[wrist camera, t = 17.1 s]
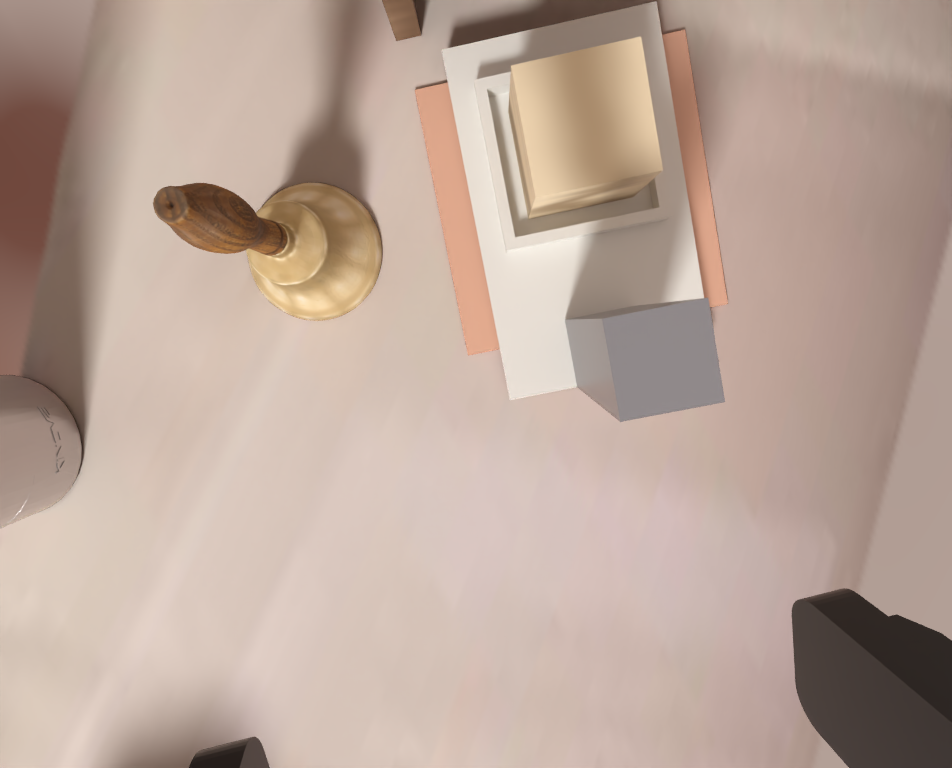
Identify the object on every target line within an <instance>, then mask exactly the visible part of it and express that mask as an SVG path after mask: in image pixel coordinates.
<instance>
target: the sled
mask: <svg viewBox="0 0 952 768" xmlns="http://www.w3.org/2000/svg"><path fill="white" fill-rule="evenodd" d="M636 37H641V38H642V44H643V50H644V57H645V63H646V69H647V75H648V81H649V87H650V93H651V99H652V105H653V112H654V118H655V124H656V130H657V136H658V142H659V148H660V154H661V161H662V167H663V171H662V172H661V173H659V174H658V175H657V176H656V177H655V178H654V179H653V180H652V181H651V182H649V183H648V184H647V185H646V186H645V187H644V188H643V189H642V190H641V191H639V192H638V193H637V194H636V195H635V196H634V197H632V198H627V199H622V200H617V201H613V202H608V203H603V204H598V205H594V206H589V207H584V208H579V209H575V210H570V211H565V212H560V213H555V214H551V215H546V216H541V217H536V218H532V219H528V215H527V209H526V204H525V199H524V193H523V188H522V183H521V177H520V172H519V167H518V161H517V156H516V151H515V145H514V140H513V135H512V129H511V124H510V119H509V113H508V107H509V91H510V74H511V65H515V64H520V63H524V62H529V61H533V60H538V59H542V58H547V57H551V56H556V55H560V54H565V53H569V52H574V51H578V50H583V49H587V48H592V47H596V46H600V45H605V44H609V43H614V42H618V41H623V40H627V39H632V38H636ZM442 56H443V61H444V66H445V71H446V76H447V81H448V86H449V91H450V96H451V101H452V107H453V112H454V117H455V122H456V127H457V132H458V137H459V142H460V147H461V153H462V158H463V163H464V168H465V173H466V178H467V183H468V188H469V193H470V199H471V204H472V209H473V214H474V219H475V224H476V229H477V234H478V239H479V245H480V250H481V255H482V260H483V265H484V270H485V275H486V280H487V285H488V291H489V296H490V301H491V306H492V311H493V316H494V321H495V326H496V331H497V337H498V342H499V347H500V352H501V357H502V362H503V367H504V372H505V377H506V382H507V388H508V393H509V398H510V400H513V399H519V398H524V397H529V396H534V395H539V394H544V393H550V392H555V391H560V390H565V389H570V388H575V387H578V388H579V389H580V390H581V391H583V392H584V393H585V394H586V395H588V396H589V397H590V398H591V399H593V400H594V401H595V402H596V403H598V404H599V405H600V406H601V407H603V408H604V409H605V410H606V411H608V412H609V413H610V414H611V415H612V416H614V417H615V418H616V419H617V420H619V421H620V422H622V421H627V420H633V419H638V418H643V417H648V416H654V415H659V414H664V413H669V412H675V411H680V410H685V409H691V408H696V407H701V406H706V405H712V404H717V403H722V402H725V399H724V393H723V386H722V380H721V374H720V368H719V361H718V355H717V349H716V343H715V336H714V330H713V324H712V317H711V311H710V305H709V299H708V298H704V294H703V288H702V282H701V275H700V269H699V263H698V257H697V250H696V244H695V238H694V232H693V225H692V219H691V213H690V207H689V200H688V194H687V188H686V182H685V175H684V169H683V163H682V157H681V150H680V144H679V138H678V132H677V126H676V119H675V113H674V107H673V101H672V94H671V88H670V82H669V76H668V69H667V63H666V57H665V51H664V44H663V38H662V32H661V26H660V19H659V13H658V7H657V1H655V2H650V3H646V4H641V5H637V6H632V7H628V8H624V9H619V10H615V11H610V12H606V13H602V14H597V15H593V16H588V17H584V18H579V19H575V20H571V21H566V22H562V23H557V24H553V25H549V26H544V27H540V28H535V29H531V30H526V31H522V32H518V33H513V34H509V35H504V36H500V37H496V38H491V39H487V40H482V41H478V42H473V43H469V44H465V45H460V46H456V47H451V48H447V49H443V50H442Z"/></svg>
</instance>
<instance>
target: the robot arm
mask: <svg viewBox="0 0 952 768" xmlns="http://www.w3.org/2000/svg"><path fill="white" fill-rule="evenodd" d="M81 450H82V447H81V440H80V434H79V431H78V428H77V425H76V423H75V420H74V418H73V416H72V415H71V413H70V411H69V410H68V408H67V407H66V405H65V404H64V403H63V402H62V401H61V400H60V399H59V398H58V397H57V396H56V395H55V394H54V393H53V392H52V391H50V390H49V389H47V388H46V387H45V386H43V385H42V384H39V383H37V382H35V381H33V380H30V379H28V378H24V377H19V376H15V375H0V528H2V527H5V526H7V525H9V524H12V523H14V522H16V521H19V520H21V519H24V518H26V517H28V516H31V515H33V514H35V513H38V512H40V511H42V510H45V509H47V508H49V507H51V506H52V505H54V504H55V503H57V502H58V501H59V500H61V499H62V498H63V497H64V495H65V494H66V493H67V492H68V491H69V490H70V489H71V487H72V485H73V483H74V481H75V479H76V477H77V475H78V471H79V467H80V464H81ZM792 627H793V645H794V663H795V682H796V689H797V693H798V696H799V700H800V702H801V705H802V707H803V709H804V711H805V713H806V715H807V717H808V719H809V720H810V722H811V724H812V725H813V726H814V728H815V729H816V730H817V732H818V733H819V734H820V735H821V736H822V738H823V739H824V740H825V741H826V742H827V743H828V744H829V745H830V746H831V748H832V749H833V750H834V751H835V752H836V753H837V755H838V756H839V757H840V758H841V759H842V760H843V761H844V763H845V764H846V765H847V766H848V767H849V768H952V641H951V640H950V639H948V638H947V637H946V636H944V635H943V634H941V633H939V632H937V631H935V630H932V629H930V628H927V627H925V626H923V625H920V624H918V623H916V622H913V621H911V620H908V619H906V618H904V617H901V616H899V615H893V616H889V617H888V616H887V615H886V614H884V613H883V612H881V611H880V610H879V609H878V608H876V607H875V606H874V605H872V604H871V603H869V602H868V601H867V600H865V599H864V598H863V597H861V596H860V595H859V594H857V593H856V592H854V591H852V590H850V589H839V590H835V591H831V592H827V593H823V594H819V595H815V596H811V597H808V598H804V599H800V600H797V601H796V602H795V603H794V605H793V607H792ZM189 768H270V767H269V764H268V761H267V758H266V755H265V752H264V749H263V746H262V744H261V742H260V741H259V739H258V738H256V737H251V738H247V739H243V740H239V741H235V742H231V743H227V744H223V745H220V746H216V747H212V748H208V749H204V750H201V751H199V752H198V753H197V754H196V755H195V756H194V758H193V760H192V762H191V764H190V767H189Z"/></svg>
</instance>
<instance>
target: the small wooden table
mask: <svg viewBox="0 0 952 768" xmlns="http://www.w3.org/2000/svg"><path fill="white" fill-rule="evenodd" d="M382 1H383V4H384V7H385V10H386V13H387V16H388V18H389V21H390V24H391V27H392V30H393V33H394V35H395V38H396V41H398V40H403V39H407V38H412V37H416V36H420V35H421V32H420V26H419V21H418V16H417V11H416V6H415V1H414V0H382Z"/></svg>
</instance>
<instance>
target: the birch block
mask: <svg viewBox="0 0 952 768" xmlns="http://www.w3.org/2000/svg"><path fill="white" fill-rule="evenodd" d="M508 113H509V119H510V124H511V129H512V135H513V140H514V145H515V151H516V156H517V161H518V167H519V172H520V177H521V183H522V188H523V193H524V199H525V204H526V209H527V215H528V219H532V218H536V217H541V216H546V215H551V214H555V213H560V212H565V211H570V210H575V209H579V208H584V207H589V206H594V205H598V204H603V203H608V202H613V201H617V200H622V199H627V198H632V197H634V196H635V195H636V194H637V193H638V192H639V191H641V190H642V189H643V188H644V187H645V186H646V185H647V184H648V183H649V182H651V181H652V180H653V179H654V178H655V177H656V176H657V175H658V174H659V173H661V172H662V171H663V167H662V161H661V154H660V148H659V142H658V136H657V130H656V124H655V118H654V112H653V105H652V99H651V93H650V87H649V81H648V75H647V69H646V63H645V57H644V50H643V44H642V38H641V37H636V38H632V39H627V40H623V41H618V42H614V43H609V44H605V45H600V46H596V47H592V48H587V49H583V50H578V51H574V52H569V53H565V54H560V55H556V56H551V57H547V58H542V59H538V60H533V61H529V62H524V63H520V64H515V65H511V74H510V91H509V107H508Z"/></svg>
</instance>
